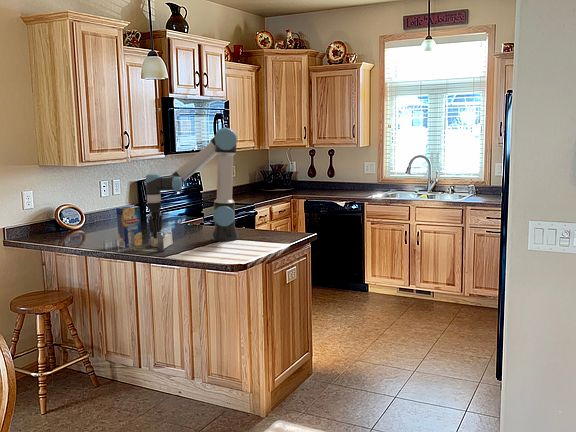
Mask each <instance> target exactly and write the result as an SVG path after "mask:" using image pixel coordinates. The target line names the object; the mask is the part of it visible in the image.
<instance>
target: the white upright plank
mask: <svg viewBox="0 0 576 432" xmlns="http://www.w3.org/2000/svg"><path fill="white" fill-rule="evenodd" d="M164 235H165V236H163V244H164V250H165V249H166V248H168V247H170V246H171V245H173V231H167V233H166V234H164Z"/></svg>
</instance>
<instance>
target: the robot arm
mask: <svg viewBox="0 0 576 432" xmlns="http://www.w3.org/2000/svg"><path fill="white" fill-rule="evenodd" d="M237 143H238V136H237V134H236V132H235V131H234V130H233V129H232V128H230V127H222V128H219V130H217V132H216V134H215V136H213V137H212V138H211V139H210V140H209V143H208V144H207V145H206V146H205V147H203V148H202V149H201V150H199V152H197V153H195V155H194V156H192V157H191V158H190V159H189V160H187V161H186V162H185V163H184V164H183V165H182V166H180V167H179V168H178V169H176V171H174V172H173V173H172V174H171V175H169V176H165V177H162V176H160V174H159V173H148V174H146V175H145V191H146V201H147V206H146V207H147V210H149V212H148V214H149V215H147V216H146V219H147V222H148V226H149V230H150V233H152V237H153V238H154V244H158V240H157V233H162V226H163V225H162V224H163V215H164V212H161V209H162V202H161V201H162V197H161V196H162V195H161V192H165V191H166V192H168V191H181V190H182V188H183V183H184V182H185V181H187V179H189V178H190V177H191V176H192V175H194V174H195V173H196V172H197V171H199V170H200V169H201V168H202V167H204V166H205V165H207V163H209V162H210V161H211V160H212V159H214V158H215V157H216V156H217V173H216V174H217V175H216V176H217V178H216V179H217V180H216V181H217V182H216V199H214V201H213V213H212V214H213V215H212V218H213V221H214V229H213V233H212V240H213V241H214V242H232V240H233V241H236V240H238V239H239V234H238V231H237V229H236V226H235V225H236V220H235V219H236V217H235V216H236V214H235V213H236V212H235V209H236V208H235V206H236V205H235V203H236V202H235V200H234V199H233V185H234V184H233V182H234V181H233V178H234V177H233V176H234V156H236V154H237Z"/></svg>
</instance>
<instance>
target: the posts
mask: <svg viewBox="0 0 576 432" xmlns="http://www.w3.org/2000/svg"><path fill="white" fill-rule="evenodd" d="M163 235H164V233H163V232H159V233H157V240H158V247H157V249H155V250H154V249H136V248H135V249H134V250H133V251H136V252H138V251H139V252H154V253H157V252H158V253H164V252H165V249H164V244H163Z"/></svg>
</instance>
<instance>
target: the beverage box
mask: <svg viewBox="0 0 576 432" xmlns="http://www.w3.org/2000/svg"><path fill="white" fill-rule="evenodd" d="M140 208H141V207H140V206H137V205H128V206H123V207H116V208H115V209H116V210H115V211H116V221H117V224H116V225H117V235H118V247H120V248H125V249H127V248H128V249H129V240H128V232H134V238H135V247H137V246H142V245H143V235H142V234H143V233H142V222H141V221H142V220H141V209H140Z"/></svg>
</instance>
